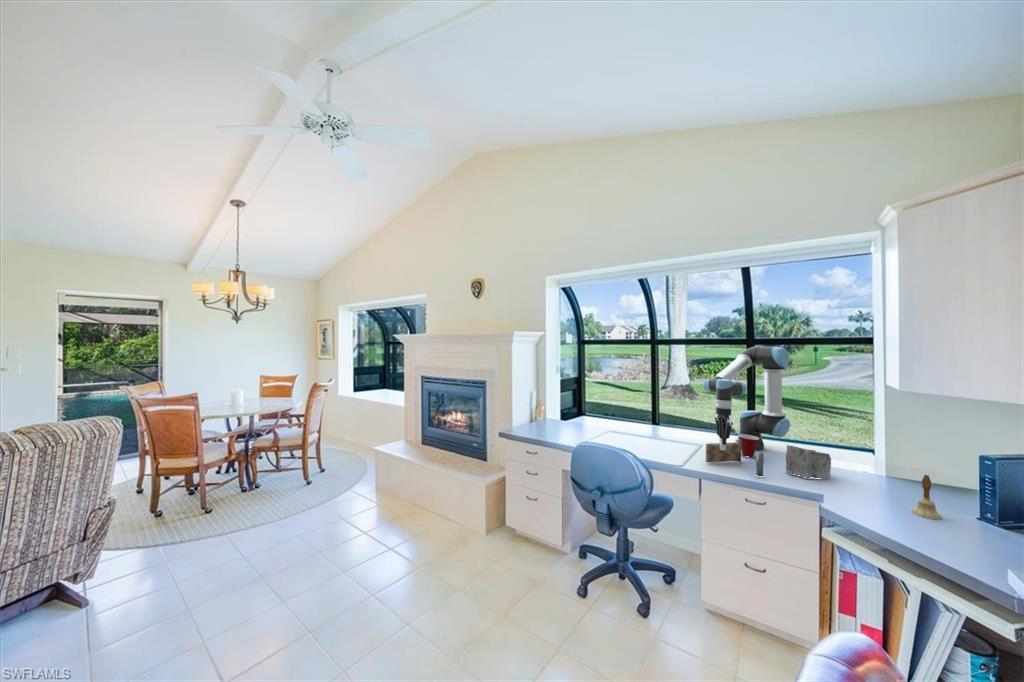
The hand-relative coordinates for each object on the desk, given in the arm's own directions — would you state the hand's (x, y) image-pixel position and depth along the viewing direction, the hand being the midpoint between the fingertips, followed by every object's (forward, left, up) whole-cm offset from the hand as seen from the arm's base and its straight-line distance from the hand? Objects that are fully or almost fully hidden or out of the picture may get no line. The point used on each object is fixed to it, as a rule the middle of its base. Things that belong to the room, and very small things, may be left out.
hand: (722, 449), depth 213 cm
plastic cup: (-21, -18, -8) cm, 29 cm away
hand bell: (-57, +51, -8) cm, 77 cm away
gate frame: (-4, +5, -8) cm, 10 cm away
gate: (-1, -3, -7) cm, 8 cm away
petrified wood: (-37, +10, -8) cm, 40 cm away
